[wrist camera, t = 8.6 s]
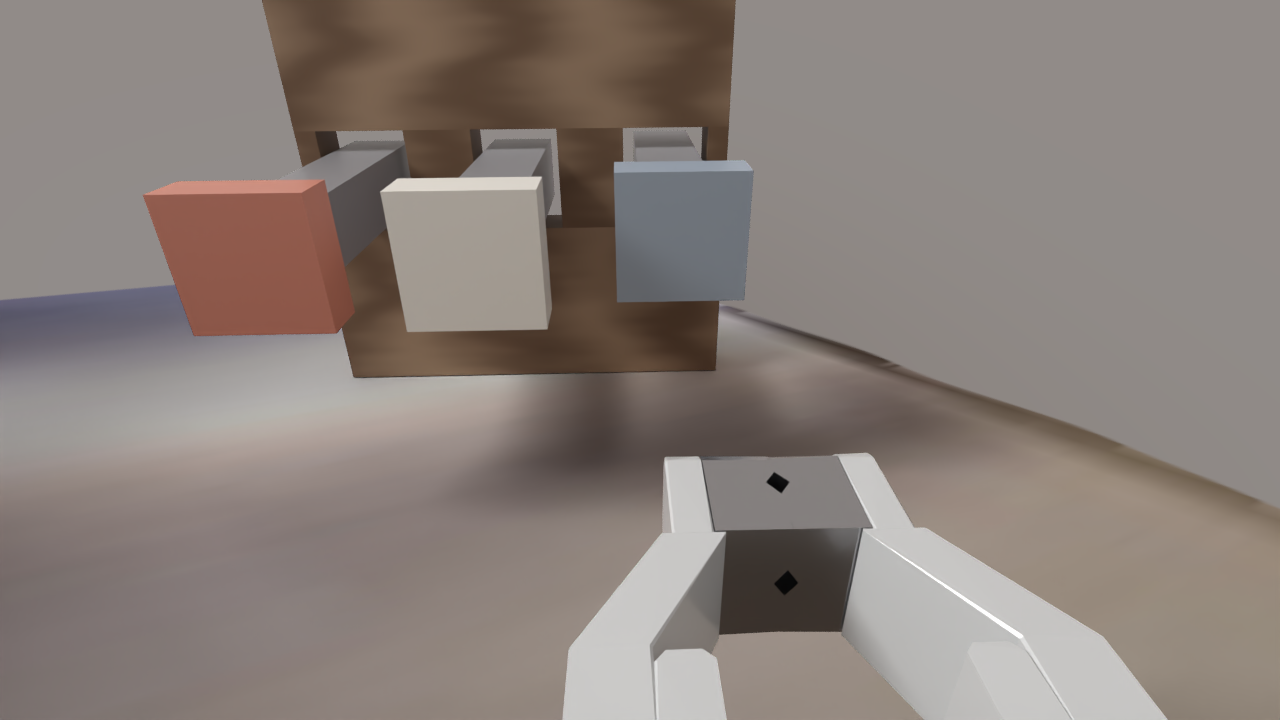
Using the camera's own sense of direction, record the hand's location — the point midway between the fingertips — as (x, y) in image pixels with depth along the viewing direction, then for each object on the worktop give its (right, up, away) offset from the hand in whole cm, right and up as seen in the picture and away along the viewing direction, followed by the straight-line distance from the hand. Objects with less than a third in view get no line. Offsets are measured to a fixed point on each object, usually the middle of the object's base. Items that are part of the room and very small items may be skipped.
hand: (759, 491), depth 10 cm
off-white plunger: (-7, +6, +15) cm, 17 cm away
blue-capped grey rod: (-1, +7, +16) cm, 18 cm away
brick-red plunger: (-13, +6, +14) cm, 20 cm away
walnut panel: (-7, +2, +22) cm, 23 cm away
